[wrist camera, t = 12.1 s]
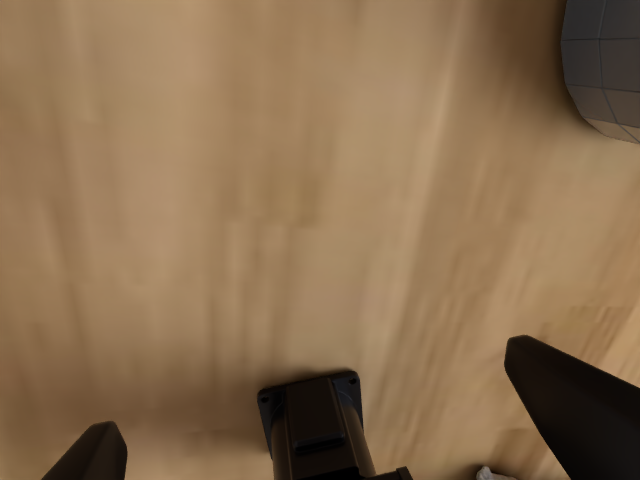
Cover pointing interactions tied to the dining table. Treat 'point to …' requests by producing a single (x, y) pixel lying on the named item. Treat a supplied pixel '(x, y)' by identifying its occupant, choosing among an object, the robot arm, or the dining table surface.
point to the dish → (604, 64)
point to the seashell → (491, 475)
